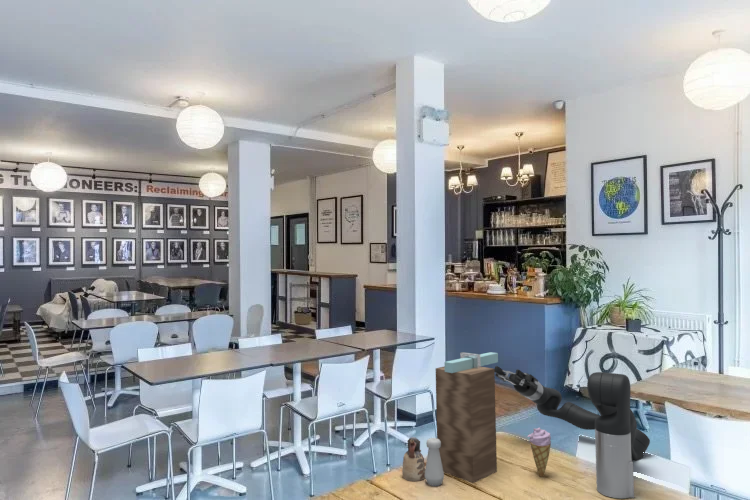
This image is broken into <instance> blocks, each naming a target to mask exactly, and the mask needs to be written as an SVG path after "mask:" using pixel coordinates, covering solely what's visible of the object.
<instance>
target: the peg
mask: <svg viewBox="0 0 750 500" xmlns="http://www.w3.org/2000/svg"><path fill="white" fill-rule="evenodd" d="M479 355H480V361H481V367H485V366H488V365H493V364H496V363H499V353H498V352H493V351H492V352H491V351H490V352H486V353H481V354H480V353H479ZM443 364H444V365H443V366H445V372H449V373H455V372H459V371H463V370H467V369H472V368H474V361H473V357H468V356H467V357H465V358H461V357H460V358H457V359H456V358H455V359H452V360H447V361H444V363H443Z"/></svg>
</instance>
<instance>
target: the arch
mask: <svg viewBox="0 0 750 500" xmlns="http://www.w3.org/2000/svg"><path fill="white" fill-rule="evenodd" d="M459 354H460V359H461V358H465V357H473V361H474V368H475V369H480V368H481V367H482V366H481V361H480V353H479V354H478V353H471V352H464V351H463V352H460V353H459Z"/></svg>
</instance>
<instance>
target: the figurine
mask: <svg viewBox="0 0 750 500" xmlns="http://www.w3.org/2000/svg"><path fill="white" fill-rule="evenodd" d="M406 443H407V451H406V452H404V455H403V457H402V458H403V460H402V470H401V471H402V472H401V473H402V478H403V479H405V480H406V481H408V482H409V481H410V482H419V481H420V482H421V481H423V480H426V479H425V469H426V464H425V458H424V455H423V454H422V449H421V440H420V439H418V438H417V437H413V436H411V437H410V438H408V440H407V441H406Z"/></svg>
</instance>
